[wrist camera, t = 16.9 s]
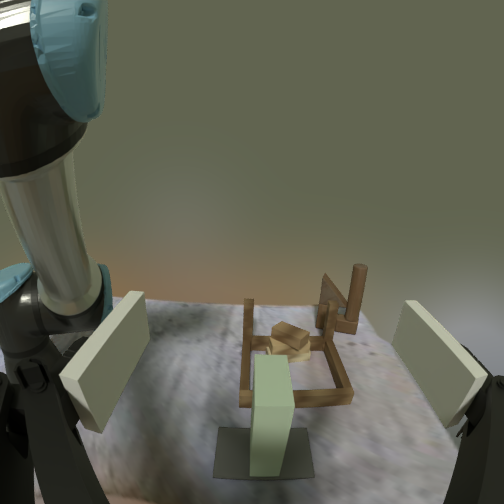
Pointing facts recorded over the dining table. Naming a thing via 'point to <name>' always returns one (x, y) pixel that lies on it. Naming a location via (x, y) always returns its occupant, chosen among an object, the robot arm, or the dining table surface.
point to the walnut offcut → (290, 335)
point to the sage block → (270, 414)
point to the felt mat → (238, 456)
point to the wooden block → (343, 301)
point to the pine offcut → (294, 356)
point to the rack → (318, 343)
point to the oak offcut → (286, 348)
